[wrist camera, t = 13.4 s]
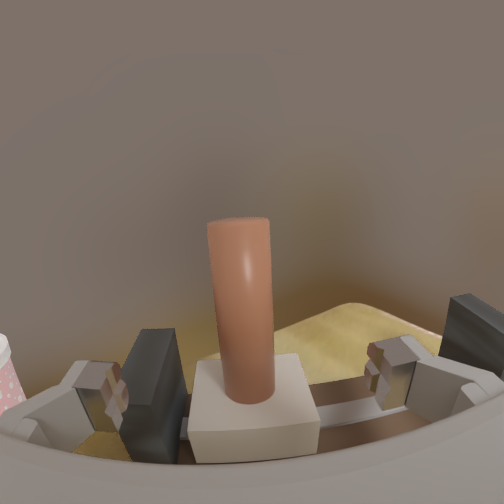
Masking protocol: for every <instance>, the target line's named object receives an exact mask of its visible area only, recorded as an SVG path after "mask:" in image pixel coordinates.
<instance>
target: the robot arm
mask: <svg viewBox="0 0 504 504" xmlns="http://www.w3.org/2000/svg"><path fill="white" fill-rule="evenodd" d="M367 355H368V356H369V358H370V360H369V361H368V362H367V363H366V365H365V371H364V375H365V382H366V385H367V387H368V389H369V390H370V391H371V392H374V393H376V394H375V400H376V402H377V404H378V405H379V407H380V409H381V410H382V411H385V410H390V409H394V408H398V407H402V406H405V407H406V408H408V409H409V410H411V411H413V412H415V413H416V414H418V415H420V416H422V417H423V418H425V419H427V420H429V421H430V422H432V424H429V425H426V426H423V427H421V428H418V429H415V430H412V431H409V432H406V433H403V434H399V435H396V436H393V437H389V438H386V439H382V440H379V441H375V442H371V443H367V444H363V445H359V446H355V447H351V448H346V449H342V450H337V451H332V452H327V453H321V454H316V455H310V456H303V457H297V458H290V459H282V460H274V461H264V462H253V463H239V464H218V465H175V464H154V463H141V462H130V461H121V460H113V459H105V458H99V457H92V456H86V455H81V454H75V453H71V452H72V451H73V450H74V449H76V448H77V447H78V446H79V445H80V444H82V443H83V442H84V441H85V440H86V439H87V438H89V437H90V436H91V435H92V434H93V433H94V432H95V431H104V432H117V433H118V431H119V429H120V426H121V423H122V420H123V418H122V415H121V413H123V412H124V411H126V409H127V406H128V400H129V395H128V389H127V386H126V383H125V382H124V381H122V380H121V379H120V377H121V375H122V370H121V368H120V365H119V364H118V363H117V362H106V361H89V360H77V361H75V363H74V364H73V365H72V367H71V368H70V370H69V371H68V372H67V374H66V375H65V377H64V378H63V380H62V381H61V383H60V384H59V385H58V386H53V387H51V388H49V389H47V390H45V391H43V392H41V393H39V394H37V395H35V396H33V397H31V398H29V399H27V400H25V401H23V402H21V403H19V404H17V405H15V406H13V407H11V408H9V409H7V410H5V411H4V412H3V413H2V414H1V416H0V504H504V382H503V381H502V380H501V379H499V378H498V377H497V376H496V375H495V374H494V373H493V372H490V371H486V370H483V369H479V368H476V367H473V366H469V365H466V364H463V363H459V362H456V361H453V360H449V359H446V358H443V357H440V356H434V357H433V356H432V355H431V354H430V353H429V352H428V351H427V350H426V349H425V348H424V347H423V346H422V345H421V344H420V343H419V342H418V341H417V340H416V339H415V338H414V337H413V336H412V335H409V334H407V335H403V336H399V337H396V338H391V339H387V340H382V341H377V342H372V343H369V346H368V350H367Z"/></svg>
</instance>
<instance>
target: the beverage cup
mask: <svg viewBox="0 0 504 504" xmlns="http://www.w3.org/2000/svg"><path fill="white" fill-rule="evenodd" d="M10 355H11V350H10V347H9V343H8V340H7V337H6V336H5V335H3V334H1V333H0V416H1V414H2V413H3V412H4V411H5V410H7V409H9V408H11V407H13V406H15V405H17V404H19V403H21V402H23V401H25V400H27V399H26V397H25V394H24V392H23V390H22V387H21V385H20V382H19V380H18V377H17V375H16V372H15V369H14V367H13V364H12V361H11V358H10Z"/></svg>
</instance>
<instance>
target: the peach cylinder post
mask: <svg viewBox="0 0 504 504" xmlns="http://www.w3.org/2000/svg"><path fill="white" fill-rule="evenodd" d="M207 231H208V243H209V253H210V264H211V274H212V284H213V294H214V303H215V312H216V321H217V329H218V337H219V346H220V354H221V359H216V360H197V366H196V373H195V379H194V386H193V393H192V400H191V407H190V414H189V421H188V429H187V433H188V436H189V440H190V443H191V446H192V450H193V453H194V456H195V459H196V463H229V462H247V461H260V460H270V459H280V458H288V457H295V456H302V455H309V454H315V453H317V447H318V439H319V430H320V422H321V420H320V417H319V414H318V411H317V409H316V406H315V403H314V400H313V397H312V394H311V391H310V389H309V386H308V383H307V380H306V377H305V374H304V371H303V369H302V366H301V363H300V360H299V357H298V354H297V353H290V354H281V355H274V329H273V301H272V275H271V274H272V273H271V249H270V227H269V220H268V219H266V218H261V217H236V218H226V219H220V220H215V221H212V222H209V223H208V224H207Z"/></svg>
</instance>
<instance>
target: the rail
mask: <svg viewBox="0 0 504 504" xmlns="http://www.w3.org/2000/svg"><path fill="white" fill-rule="evenodd" d="M438 356H440V357H443V358H446V359H449V360H453V361H456V362H459V363H463V364H466V365H469V366H473V367H476V368H479V369H483V370H486V371H490V372H493V373H494V374H495V375H496V376H497V377H498V378H499V379H501V380H502V381H503V382H504V314H502V313H501V312H499V311H497V310H496V309H494V308H493V307H491V306H490V305H488V304H486V303H485V302H483V301H482V300H480V299H478V298H477V297H475V296H474V295H472V294H464V295H460V296H455V297H451V298H450V303H449V309H448V314H447V320H446V324H445V329H444V333H443V338H442V342H441V346H440V350H439V354H438ZM121 370H122V375H121V377H120V379H121V380H122V381H124V382H125V383H126V386H127V389H128V395H129V400H128V406H127V409H126V411H124V412H123V413H121V415H122V418H123V420H122V423H121V426H120V429H119V431H118V432H119V434H120V436H121V439H122V441H123V443H124V445H125V447H126V449H127V451H128V453H129V455H130V457H131V459H132V461H133V462H141V463H154V464H175V465H218V464H239V463H253V462H264V461H274V460H282V459H290V458H297V457H303V456H310V455H316V454H321V453H327V452H332V451H337V450H342V449H346V448H351V447H355V446H359V445H363V444H367V443H371V442H375V441H379V440H382V439H386V438H389V437H393V436H396V435H399V434H403V433H406V432H409V431H412V430H415V429H418V428H421V427H423V426H426V425H429V424H432V422H430V421H429V420H427V419H425V418H423V417H422V416H420V415H418V414H416V413H415V412H413V411H411V410H409V409H408V408H406V407H405V406H402V407H398V408H394V409H390V410H385V411H382V410H381V409H380V407H379V405H378V404H377V402H376V400H375V394H376V393H374V392H371V391H370V390H369V389H368V387H367V385H366V382H365V376H361V377H356V378H350V379H345V380H339V381H333V382H326V383H320V384H313V385H308V386H309V389H310V391H311V394H312V397H313V400H314V403H315V406H316V409H317V411H318V414H319V417H320V420H321V422H320V430H319V439H318V447H317V453H315V454H309V455H302V456H295V457H288V458H280V459H270V460H260V461H247V462H229V463H196V459H195V456H194V453H193V450H192V446H191V443H190V440H189V436H188V433H187V429H188V421H189V414H190V407H191V400H192V394H188V393H187V389H186V384H185V380H184V375H183V370H182V365H181V360H180V355H179V350H178V345H177V340H176V335H175V329H174V328H171V329H170V328H169V329H142V330H141V332H140V334H139V336H138V338H137V339H136V342H135V343H134V345H133V347H132V349H131V352H130V353H129V355H128V357H127V359H126V361H125V364H124V366H123V367H122V369H121Z"/></svg>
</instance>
